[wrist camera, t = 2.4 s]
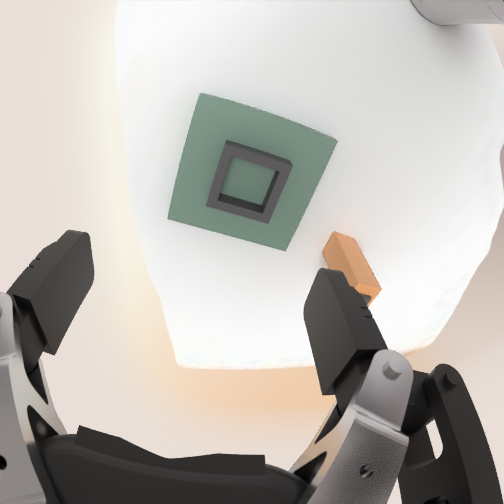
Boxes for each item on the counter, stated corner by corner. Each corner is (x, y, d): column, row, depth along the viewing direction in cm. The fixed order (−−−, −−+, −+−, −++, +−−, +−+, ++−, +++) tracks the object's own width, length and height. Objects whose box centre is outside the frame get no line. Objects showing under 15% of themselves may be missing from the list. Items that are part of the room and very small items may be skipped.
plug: (354, 238, 42) (383, 292, 32) (342, 257, 44) (366, 313, 34) (333, 231, 41) (359, 286, 31) (322, 251, 44) (343, 308, 33)
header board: (334, 138, 33) (344, 145, 30) (284, 245, 43) (287, 261, 40) (201, 93, 29) (196, 94, 26) (169, 214, 39) (163, 227, 36)
